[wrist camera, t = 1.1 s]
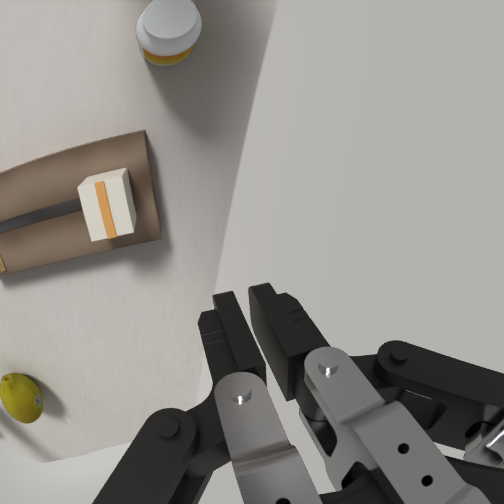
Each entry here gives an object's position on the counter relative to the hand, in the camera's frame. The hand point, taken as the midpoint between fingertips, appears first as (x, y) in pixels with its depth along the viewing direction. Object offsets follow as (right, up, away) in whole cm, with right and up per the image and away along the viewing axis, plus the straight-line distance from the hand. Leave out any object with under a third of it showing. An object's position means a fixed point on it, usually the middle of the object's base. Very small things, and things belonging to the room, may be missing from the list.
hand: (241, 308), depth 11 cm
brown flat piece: (-22, +7, +16) cm, 28 cm away
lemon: (-38, -20, +25) cm, 49 cm away
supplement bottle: (-8, +23, +13) cm, 27 cm away
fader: (-13, +7, +15) cm, 21 cm away
